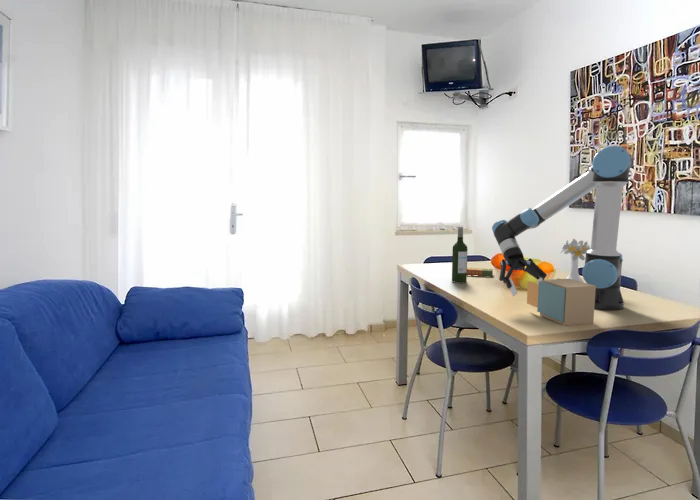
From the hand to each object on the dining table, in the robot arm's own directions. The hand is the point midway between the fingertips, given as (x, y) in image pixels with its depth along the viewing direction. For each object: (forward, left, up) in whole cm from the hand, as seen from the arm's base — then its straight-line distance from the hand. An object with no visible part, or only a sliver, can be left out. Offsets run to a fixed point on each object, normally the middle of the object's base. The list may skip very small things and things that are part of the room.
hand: (530, 293), depth 170 cm
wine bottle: (+22, -60, -8) cm, 64 cm away
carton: (+9, -81, -8) cm, 81 cm away
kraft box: (-11, +8, -8) cm, 16 cm away
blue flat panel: (-3, +7, -6) cm, 10 cm away
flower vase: (-32, -45, -8) cm, 55 cm away
